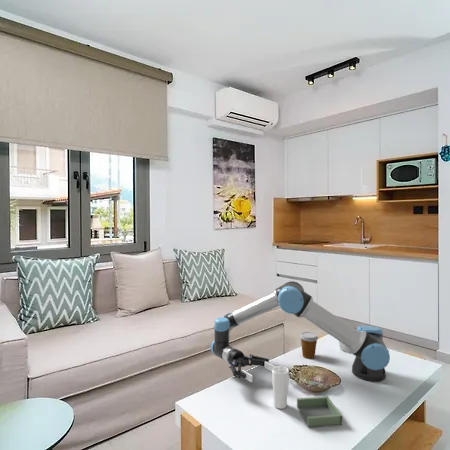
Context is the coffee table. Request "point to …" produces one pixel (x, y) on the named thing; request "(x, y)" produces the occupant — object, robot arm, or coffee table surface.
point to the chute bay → (319, 412)
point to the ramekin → (344, 347)
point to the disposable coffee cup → (308, 344)
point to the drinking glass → (280, 386)
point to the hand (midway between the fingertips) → (263, 374)
